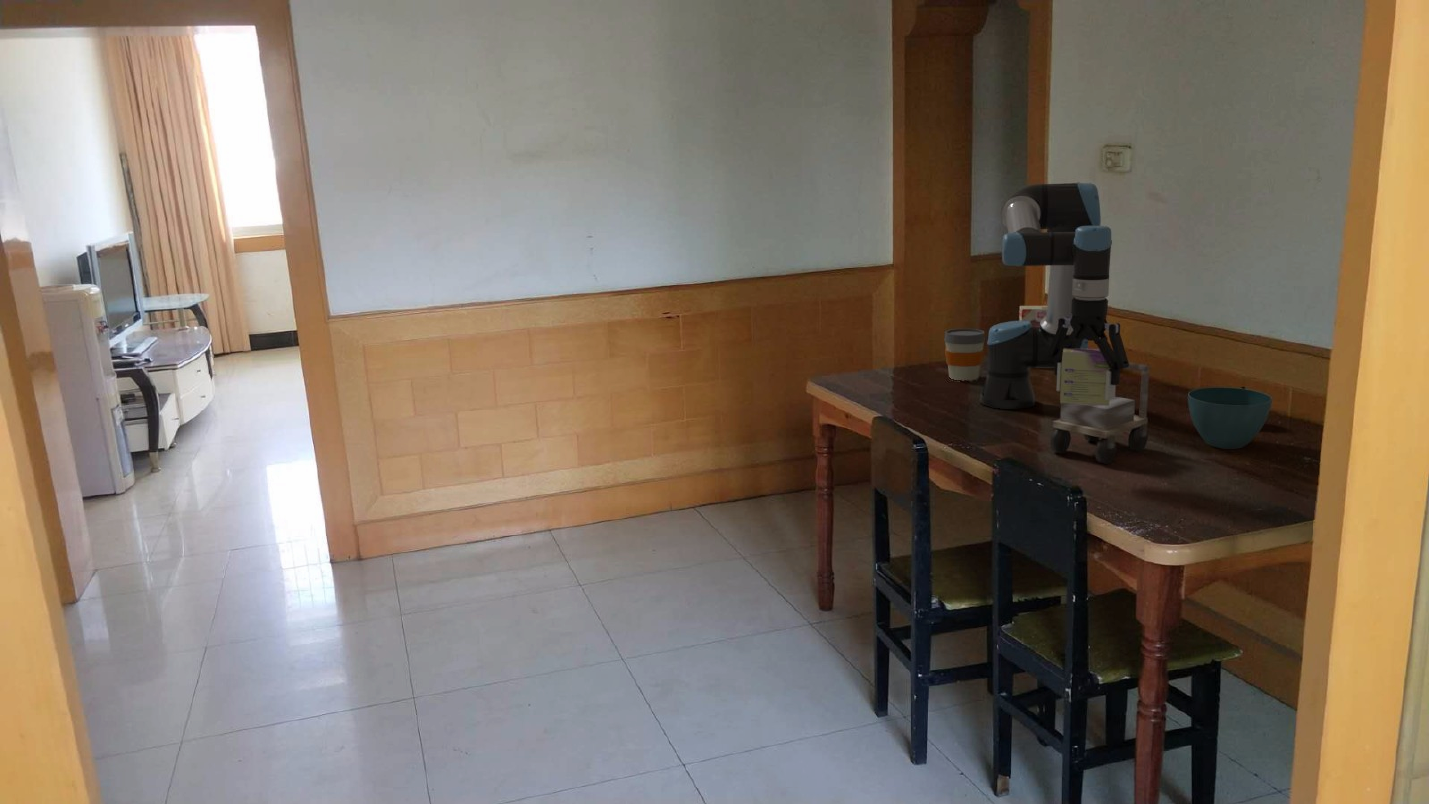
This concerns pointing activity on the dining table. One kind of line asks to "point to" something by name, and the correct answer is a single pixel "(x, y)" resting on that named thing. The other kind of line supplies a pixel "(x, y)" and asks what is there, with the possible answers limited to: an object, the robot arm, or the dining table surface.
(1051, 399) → the dining table surface
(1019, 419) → the dining table surface
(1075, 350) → the box
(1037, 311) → the coffeecake box
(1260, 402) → the teal bowl
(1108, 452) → the trolley
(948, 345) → the reusable coffee cup
